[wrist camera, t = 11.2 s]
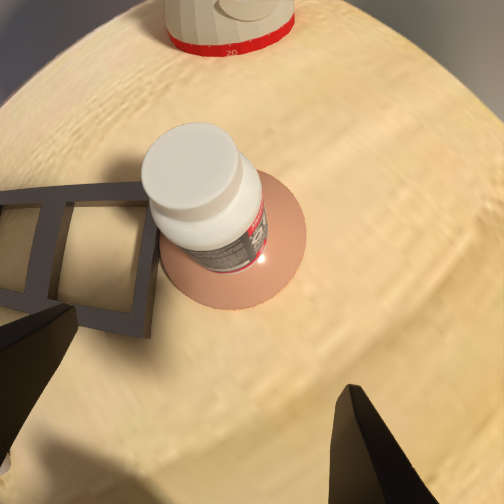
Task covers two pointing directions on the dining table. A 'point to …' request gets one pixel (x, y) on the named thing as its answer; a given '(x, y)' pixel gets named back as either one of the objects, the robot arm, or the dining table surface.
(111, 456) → the dining table surface
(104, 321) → the dark grey flat frame
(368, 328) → the dining table surface
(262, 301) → the coaster
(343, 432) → the robot arm
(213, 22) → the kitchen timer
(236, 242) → the pill bottle
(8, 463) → the donut
